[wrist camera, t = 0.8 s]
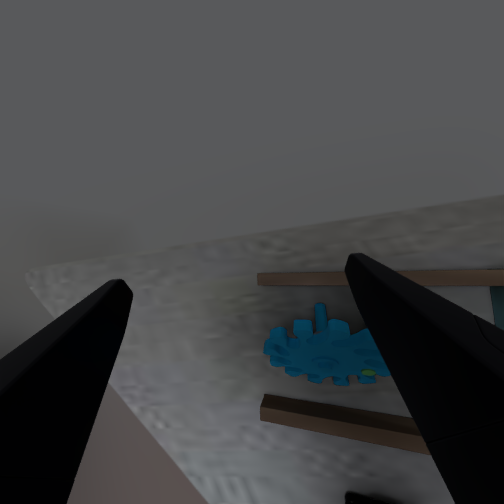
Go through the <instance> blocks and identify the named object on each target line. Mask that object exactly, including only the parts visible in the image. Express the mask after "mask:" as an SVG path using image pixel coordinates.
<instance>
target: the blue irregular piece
mask: <svg viewBox="0 0 504 504" xmlns="http://www.w3.org/2000/svg"><path fill="white" fill-rule="evenodd" d="M315 319H316V332H315V333H313V326H312V321H311V320H294V330H293V333H294V335H295V336H297V337H298V338H295V339H294V338H290V337H288V336H287V330H286V329H285V328H283V327H276V328H273V329H271V331H270V339H267V340H266V341H265V343H264V350H263V353H264V354H266V355H271V356H270V364H271V365H272V366H275V367H281V366H285V373H287V374H288V375H290V376H292V377H296V376H299V375H301V374H308V381H311V382H314V383H322V380H323V379H324V378H326V377H330V376H333V381H334V384H335V385H342V386H349V380H348V375H357V376H358V381H359V382H360V383H362V384H369V383H376V380H375V376H374V375H376V374H377V375H379V376H384V377H386V376H390V375H391V374H390V372H389V370H388V368H387V366H386V364H385V362H384V360H383V358H382V356H381V354H380V352H379V350H378V348H377V346H376V344H375V342H374V340H373V338H372V336H371V334H370V332H369V330H368V328H366V329H363V330H361V331H359V332H358V333H355V334H352V335H350V330H349V325H348V323H346V322H344V321H341V320H338V319H330V320H329V321H328V325H327V316H326V307H325V305H324V304H322V303H317V304H315Z"/></svg>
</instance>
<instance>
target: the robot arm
mask: <svg viewBox="0 0 504 504" xmlns="http://www.w3.org/2000/svg"><path fill="white" fill-rule="evenodd" d="M345 275H346V278H347V280H348V283H349V286H350V289H351V291H352V294H353V297H354V300H355V302H356V305H357V307H358V310H359V312H360V314H361V316H362V318H363V320H364V322H365V324H366V326H367V328H368V330H369V332H370V334H371V336H372V338H373V340H374V342H375V344H376V346H377V348H378V350H379V352H380V354H381V356H382V358H383V360H384V362H385V364H386V366H387V368H388V370H389V372H390V374H391V376H392V378H393V380H394V382H395V384H396V386H397V388H398V390H399V392H400V394H401V396H402V398H403V400H404V402H405V404H406V406H407V408H408V410H409V412H410V414H411V416H412V418H413V420H414V422H415V424H416V426H417V428H418V430H419V432H420V434H421V436H422V438H423V440H424V442H425V443H426V446H427V448H428V450H429V452H430V454H431V456H432V458H433V460H434V462H435V464H436V466H437V468H438V470H439V472H440V474H441V476H442V478H443V480H444V482H445V484H446V486H447V488H448V490H449V492H450V494H451V496H452V498H453V500H454V502H455V504H504V330H502V329H500V328H498V327H497V326H495V325H493V324H491V323H489V322H487V321H486V320H484V319H482V318H480V317H478V316H476V315H473V314H472V313H471V312H469V311H467V310H465V309H463V308H462V307H460V306H458V305H456V304H454V303H452V302H451V301H449V300H447V299H445V298H443V297H441V296H440V295H438V294H436V293H434V292H432V291H430V290H429V289H427V288H425V287H423V286H421V285H419V284H418V283H416V282H414V281H412V280H410V279H408V278H407V277H405V276H403V275H401V274H399V273H397V272H396V271H394V270H392V269H390V268H388V267H386V266H385V265H383V264H381V263H379V262H377V261H376V260H374V259H372V258H370V257H368V256H366V255H365V254H363V253H352V254H350V255H349V257H348V260H347V263H346V266H345ZM132 300H133V292H132V291H131V289H130V288H129V287H128V285H127V284H126V283H125V281H124V280H122V279H113V280H109V281H108V282H106V283H105V284H104V285H102V286H101V287H100V288H98V289H97V290H95V291H94V292H93V293H91V294H90V295H88V296H87V297H86V298H84V299H83V300H82V301H80V302H79V303H77V304H76V305H75V306H73V307H72V308H71V309H69V310H68V311H66V312H65V313H64V314H62V315H61V316H60V317H58V318H57V319H55V320H54V321H53V322H51V323H50V324H48V325H47V326H46V327H44V328H43V329H42V330H40V331H39V332H38V333H36V334H35V335H33V336H32V337H31V338H29V339H28V340H26V341H25V342H24V343H22V344H21V345H19V346H18V347H17V348H16V349H14V350H13V351H11V352H10V353H8V354H7V355H6V356H4V357H3V358H2V359H0V504H67V501H68V498H69V495H70V492H71V489H72V486H73V483H74V481H75V480H74V479H75V477H76V474H77V471H78V468H79V465H80V463H81V460H82V457H83V454H84V451H85V448H86V445H87V442H88V439H89V436H90V433H91V431H92V428H93V425H94V422H95V419H96V416H97V413H98V410H99V407H100V404H101V401H102V398H103V395H104V392H105V390H106V387H107V384H108V381H109V378H110V375H111V372H112V369H113V366H114V363H115V360H116V358H117V355H118V352H119V349H120V346H121V343H122V340H123V337H124V334H125V330H126V326H127V322H128V317H129V313H130V309H131V304H132ZM350 501H352V502H353V503H351V502H350ZM345 504H389V503H385V502H381V501H378V500H374V499H370V498H367V497H363V496H360V495H356V494H352V493H347V494H346V495H345Z"/></svg>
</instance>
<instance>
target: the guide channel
mask: <svg viewBox="0 0 504 504" xmlns="http://www.w3.org/2000/svg"><path fill="white" fill-rule="evenodd" d="M396 272H397V273H399V274H401V275H403V276H405V277H407V278H408V279H410V280H412V281H414V282H416V283H418V284H419V285H421V286H490V290H491V297H492V304H493V311H494V318H495V325H496V326H497V327H498V328H500V329H502V330H504V269H488V270H434V271H396ZM257 278H258V285H349V283H348V280H347V278H346V275H345V272H309V273H257ZM260 420H261V421H266V422H271V423H276V424H281V425H286V426H291V427H295V428H300V429H305V430H310V431H315V432H320V433H325V434H330V435H335V436H339V437H344V438H349V439H354V440H359V441H364V442H369V443H374V444H379V445H383V446H388V447H393V448H398V449H403V450H408V451H413V452H418V453H423V454H427V455H431V454H430V452H429V450H428V448H427V446H426V443H425V442H424V440H423V438H422V436H421V434H420V432H419V430H418V428H417V426H416V424H415V422H414V420H413V418H407V417H401V416H395V415H389V414H382V413H376V412H370V411H364V410H358V409H352V408H346V407H340V406H334V405H328V404H322V403H315V402H309V401H303V400H297V399H291V398H285V397H279V396H273V395H267V394H265V395H264V398H263V400H262V403H261V406H260Z"/></svg>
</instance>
